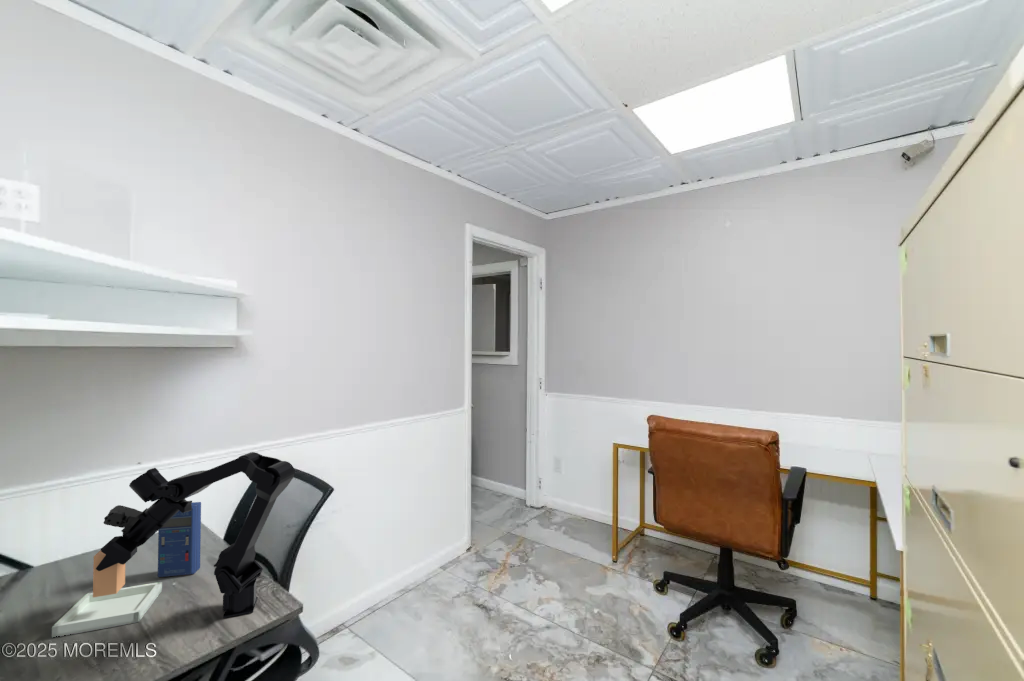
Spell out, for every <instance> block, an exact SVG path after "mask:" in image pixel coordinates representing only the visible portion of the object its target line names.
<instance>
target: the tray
mask: <svg viewBox="0 0 1024 681" xmlns="http://www.w3.org/2000/svg"><path fill="white" fill-rule="evenodd" d="M162 592H163V581H159V582H152V583H146V584H138V585H133V586H128V587H122V588H121V589H120V590H119V591H118V592H117V594H111V595H105V596H99V597H93V592H87V593H85V595H84V596H83V597H82V598H80V599H79V600H78V601H77V602H76V603H75V604H74V605H73V606H72V607H71V608H70V609H69V610H68V611H66V613H65V614H64V615H63V616H62V617H61V618H60V619H59V620H58V621H56V622H55V623H54V624H53V625H52V626H51V638H52V639H54V638H53V637H55V638H58V636H60V637H65V636H64V635H66V636H69V635H70V634H71V635H76V634H81V633H86V632H91V631H97V630H103V629H107V628H108V629H109V628H114V627H120V626H124V625H131V624H136V623H139V622H140V621H141V620H142V618H143V617H144V616H145V615H146V613H147V612H148V610H149V609H150V608H151V606H152V605H153V603H154V602H155V601H156V600H157V598H158V597H159V596H160V594H161V593H162ZM71 635H70V636H71ZM56 636H57V637H56Z"/></svg>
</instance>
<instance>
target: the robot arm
mask: <svg viewBox="0 0 1024 681" xmlns="http://www.w3.org/2000/svg"><path fill="white" fill-rule="evenodd" d="M239 473H243V474H245V476H246V477H247V478H248V480H250V481H251V482H253V483H255V492H256V496H255V498H254V500H253V503H252V505H251V507H250V509H249V512H248V514H247V516H246V518H245V520H244V523H243V525H242V526H241V529H240V531H239V533H238V535H237V537H236V539H235V542H234V543H232V544H231V545H229V546H227V547H226V548H225V549H223V550H221V552H220V553H219V556H218V558H217V561H216V563H214V564H213V567H214V571H213V574H214V575H213V576H215V580H216V582H217V585H218V586H217V587H218V589H219V592H220V594H223V595H222V612H223V615H222V617H223V619H226V618H230V617H231V618H232V617H237V616H242V615H246V614H252V613H254V610H255V608H256V605H257V602H258V600H257V599H259V598H258V596H257V579H258V578H259V577H261V575H262V573H263V570H264V568H263V567H262V566H261V565H260V563H258V562H257V560H255V557H256V544H257V542H258V539H259V537H260V534H261V533H262V530H263V528H264V527H265V524H266V522H267V520H268V518H269V516H270V514H271V511H272V509H273V507H274V505H275V503H276V501H277V499H278V497H279V496H280V495H281V494H282V493H283V491H285V490H286V489H287V487H288V486H289V484H290V483H291V481H292V480H293V479H294V477H295V474H296V470H295V469H294V466H293V465H292V464H291V463H290V462H289V461H286V460H281V459H278V458H276V457H271V456H266V455H262V454H260V453H258V452H254V451H251V452H248V453H244V454H242V455H240V456H238V457H237V458H235V459H233V460H230V461H227V462H225V463H223V464H220V465H218V466H215V467H212V468H211V469H206V470H198V471H194V472H190V473H186V474H184V475H182V476H181V475H180V476H179V477H175V478H173V479H171V480H169V481H168V480H167V479H166V478H165V477H164V475H162V474H161V473H160V471H159V470H158V468H156V467H153V468H149V469H147V470H146V472H144V473H142V474H140V475H139V476H138V477H136V478H134V479H133V480H132V481H130V483H129V488H130V489H131V490H132V491H134V493H135V494H136V495H137V496H138V497H139V498H140V499H141V500H142V501H143V502H144V503H147V502H149V501H150V502H154V503H152V504H151V505H150V506H149V507H146V508H145V509H144V510H143V511H140V510H139V509H136V508H132V507H128V506H126V505H125V506H124V505H119V504H118V505H115V506H114V507H113V508H111V509H110V510H109V512H108V514H107V515H106V516H105V517H104V521H103V522H102V523H103V524H104V525H105V526H106V525H107V526H111V527H115V528H122V529H121V530H120V532H122V535H118V536H114V537H113V538H111V539H110V540H109V541H108V542H107V543H106V544H105V545H103V546H102V547H101V548H100V550H101V552H103V553H104V554H106V555H105V557H104V558H103V559H102V561H101V562H100V563H99V565H98V566H97V567H96V570H98V571H101V570H104V569H106V568H108V567H110V566H113V565H115V564H117V563H120V564H125V565H126V563H127V562H128V561H130V559H131V558H133V556H135V555H136V553H138V548H139V547H140V546H142V545H144V544H145V543H146V542H148V541H149V539H151V537H153V536H154V535H155V534H156V533H157V532H158V530H159V529H160V528H161V527H162V526H163V525H164V524H165V523H166V522H167V521H168V520H170V519H171V518H172V517H173V516H174V515H175V514H176V513H177V512H178V511H179V510H180V511H181V512H182V513H185V512H189V511H191V510H192V505H191V504H192V503H193V500H186V499H187V498H190V497H193V496H194V495H197V494H199V493H201V492H202V491H204V490H206V489H207V488H208V487H209V486H211V485H212V484H214V483H217V482H219V481H222V480H224V479H226V478H229V477H231V476H234V475H237V474H239Z"/></svg>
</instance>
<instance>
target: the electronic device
mask: <svg viewBox="0 0 1024 681" xmlns="http://www.w3.org/2000/svg"><path fill="white" fill-rule="evenodd" d="M191 505H192V510H191V511H189V512H185V513H182V512H181V511H180V510H179V511H178V512H177V513H176V514H175V515H174V516H173V517H172V518H171V519H170V520H168V521H167V522H166V523H165V524H164V525H163V526H162V527H161V528H160V529H159V530H158V531H157V532H158V535H157V536H158V538H157V578H163V577H173V576H174V577H175V576H185V575H195V574H196V573H197V572H198V571H199V569H201V543H202V542H201V540H202V537H201V536H202V535H201V534H202V533H201V529H202V502H201V501H197V502H196V501H194V502H193V501H192V504H191Z"/></svg>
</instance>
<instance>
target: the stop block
mask: <svg viewBox="0 0 1024 681" xmlns="http://www.w3.org/2000/svg"><path fill="white" fill-rule="evenodd" d="M105 555H106V554H104V553H103V552H101V549H100V550H99V551H98V552H97V553H95V555H93V564H92V565H93V567H92V568H93V571H92V574H93V575H92V577H93V579H92V580H93V581H92V593H93V597H99V596H105V595H111V594H117V592H118V591H119V590H120V589H121V588H124V587H125V584H126V563H125V564H120V563H117V564H115V565H113V566H110V567H108V568H106V569H104V570H101V571H98V570H96V567H97V566H98V565H99V563H100V562H101V561H102V559H103V558H104V557H105Z"/></svg>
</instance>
